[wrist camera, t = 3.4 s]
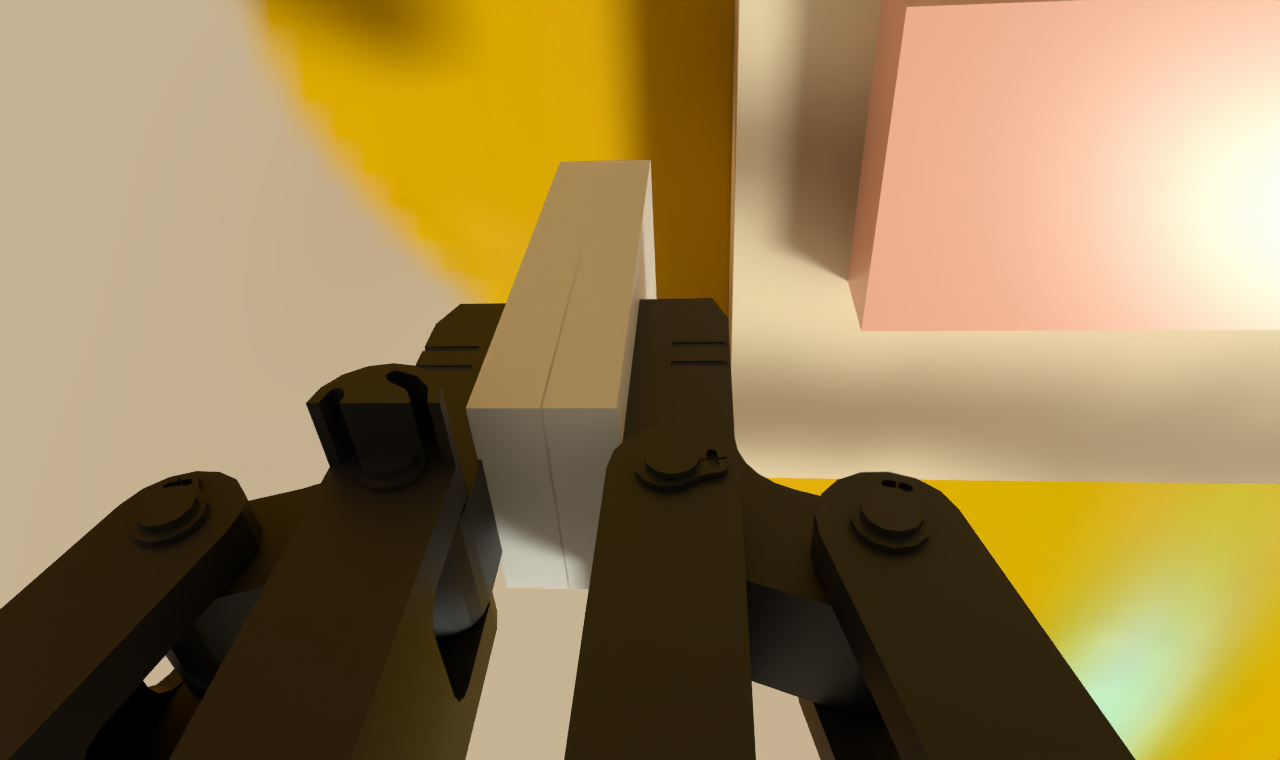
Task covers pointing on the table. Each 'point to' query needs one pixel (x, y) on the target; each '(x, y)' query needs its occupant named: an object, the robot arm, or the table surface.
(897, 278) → the pink rectangular block
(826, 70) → the beige striped slab
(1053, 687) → the robot arm
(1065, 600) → the table surface
